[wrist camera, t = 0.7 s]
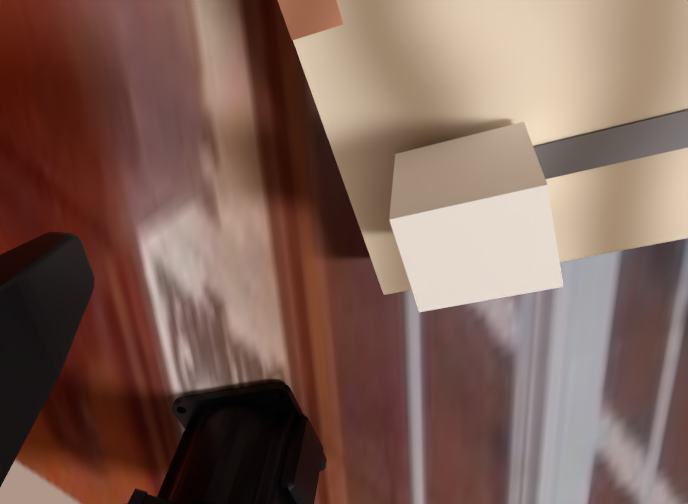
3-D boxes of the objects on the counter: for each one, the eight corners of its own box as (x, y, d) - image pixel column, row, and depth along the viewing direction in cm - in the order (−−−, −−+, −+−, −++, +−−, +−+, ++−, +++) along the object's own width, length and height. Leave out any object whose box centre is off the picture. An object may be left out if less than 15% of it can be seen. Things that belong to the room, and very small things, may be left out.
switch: (419, 236, 20) (419, 312, 17) (395, 154, 19) (389, 219, 15) (538, 211, 19) (563, 286, 16) (523, 121, 18) (547, 184, 14)
